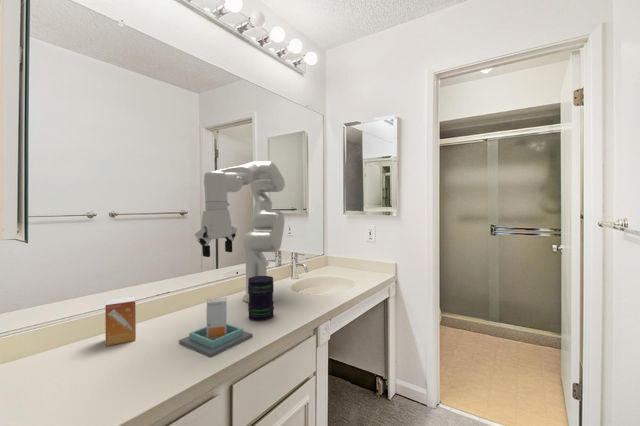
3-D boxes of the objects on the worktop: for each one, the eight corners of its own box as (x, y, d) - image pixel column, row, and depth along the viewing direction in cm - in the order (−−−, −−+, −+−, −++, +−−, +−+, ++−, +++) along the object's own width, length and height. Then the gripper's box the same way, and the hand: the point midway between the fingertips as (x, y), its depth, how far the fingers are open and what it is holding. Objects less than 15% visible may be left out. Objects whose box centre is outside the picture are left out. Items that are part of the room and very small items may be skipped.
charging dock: (221, 326, 108) (221, 318, 108) (252, 336, 99) (252, 327, 99) (179, 343, 95) (178, 333, 94) (210, 357, 86) (210, 346, 86)
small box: (105, 347, 92) (104, 304, 92) (106, 339, 98) (105, 299, 97) (136, 340, 97) (135, 300, 96) (135, 333, 102) (134, 295, 102)
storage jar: (253, 323, 111) (253, 283, 110) (244, 315, 119) (244, 277, 119) (278, 317, 116) (277, 279, 116) (267, 310, 124) (267, 274, 124)
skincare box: (206, 340, 94) (206, 302, 94) (207, 334, 98) (207, 298, 98) (226, 338, 96) (226, 300, 96) (226, 332, 100) (226, 297, 100)
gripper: (228, 205, 116) (230, 249, 117) (188, 207, 101) (189, 257, 102) (242, 205, 112) (243, 251, 113) (202, 207, 97) (203, 259, 98)
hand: (218, 254), depth 107 cm, fingers open, 9 cm apart
